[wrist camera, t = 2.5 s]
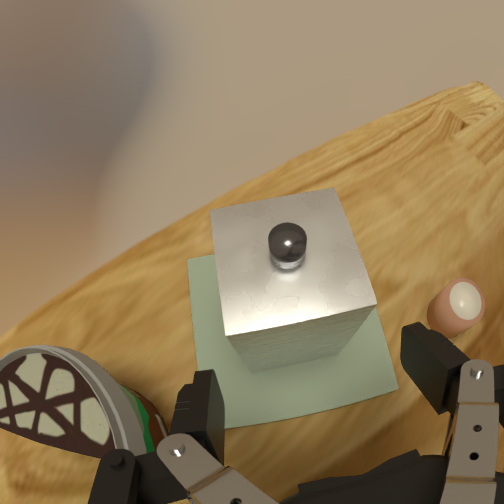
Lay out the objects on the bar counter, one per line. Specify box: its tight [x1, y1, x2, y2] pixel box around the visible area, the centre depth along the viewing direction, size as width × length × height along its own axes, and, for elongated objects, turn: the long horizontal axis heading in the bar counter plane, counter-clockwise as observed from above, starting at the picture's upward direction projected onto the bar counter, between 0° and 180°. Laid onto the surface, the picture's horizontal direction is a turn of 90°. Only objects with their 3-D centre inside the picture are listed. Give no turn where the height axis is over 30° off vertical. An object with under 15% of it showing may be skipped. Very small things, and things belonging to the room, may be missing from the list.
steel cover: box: [210, 188, 377, 373], centre depth 18 cm, size 6×6×12 cm
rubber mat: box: [187, 254, 399, 429], centre depth 23 cm, size 14×14×1 cm
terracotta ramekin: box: [427, 277, 485, 338], centre depth 21 cm, size 4×4×4 cm
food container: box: [0, 345, 169, 458], centre depth 17 cm, size 12×6×10 cm, turn 92°
